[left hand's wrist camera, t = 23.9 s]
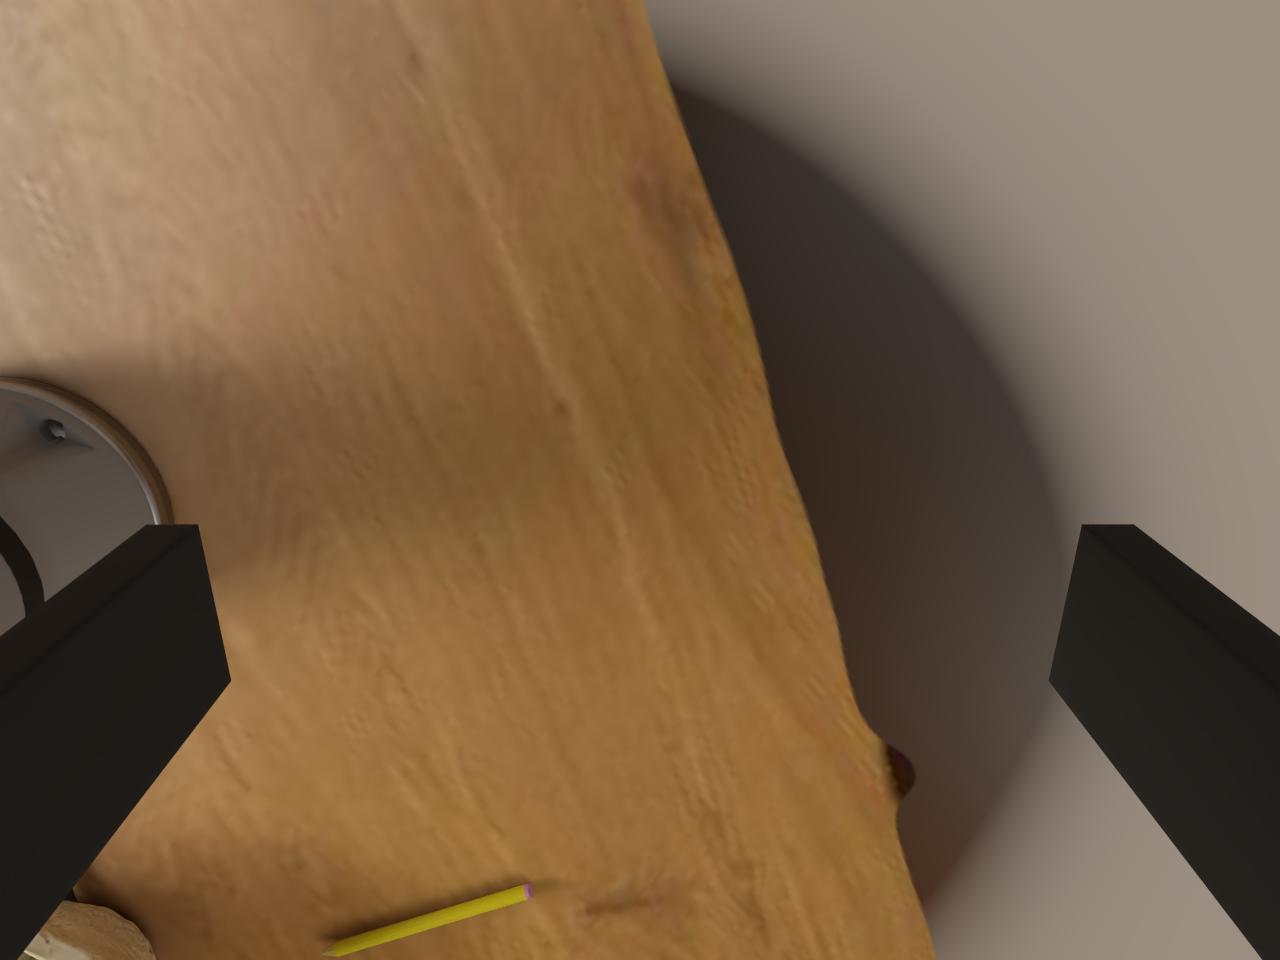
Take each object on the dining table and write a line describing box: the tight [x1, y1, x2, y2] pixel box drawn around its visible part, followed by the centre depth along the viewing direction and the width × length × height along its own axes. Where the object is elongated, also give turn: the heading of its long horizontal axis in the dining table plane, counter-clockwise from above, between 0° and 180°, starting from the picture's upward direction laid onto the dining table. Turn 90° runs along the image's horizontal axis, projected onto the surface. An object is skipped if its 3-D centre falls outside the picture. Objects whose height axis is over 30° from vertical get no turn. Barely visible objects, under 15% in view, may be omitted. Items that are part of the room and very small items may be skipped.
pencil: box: [319, 883, 533, 957], centre depth 59 cm, size 16×1×1 cm, turn 112°
